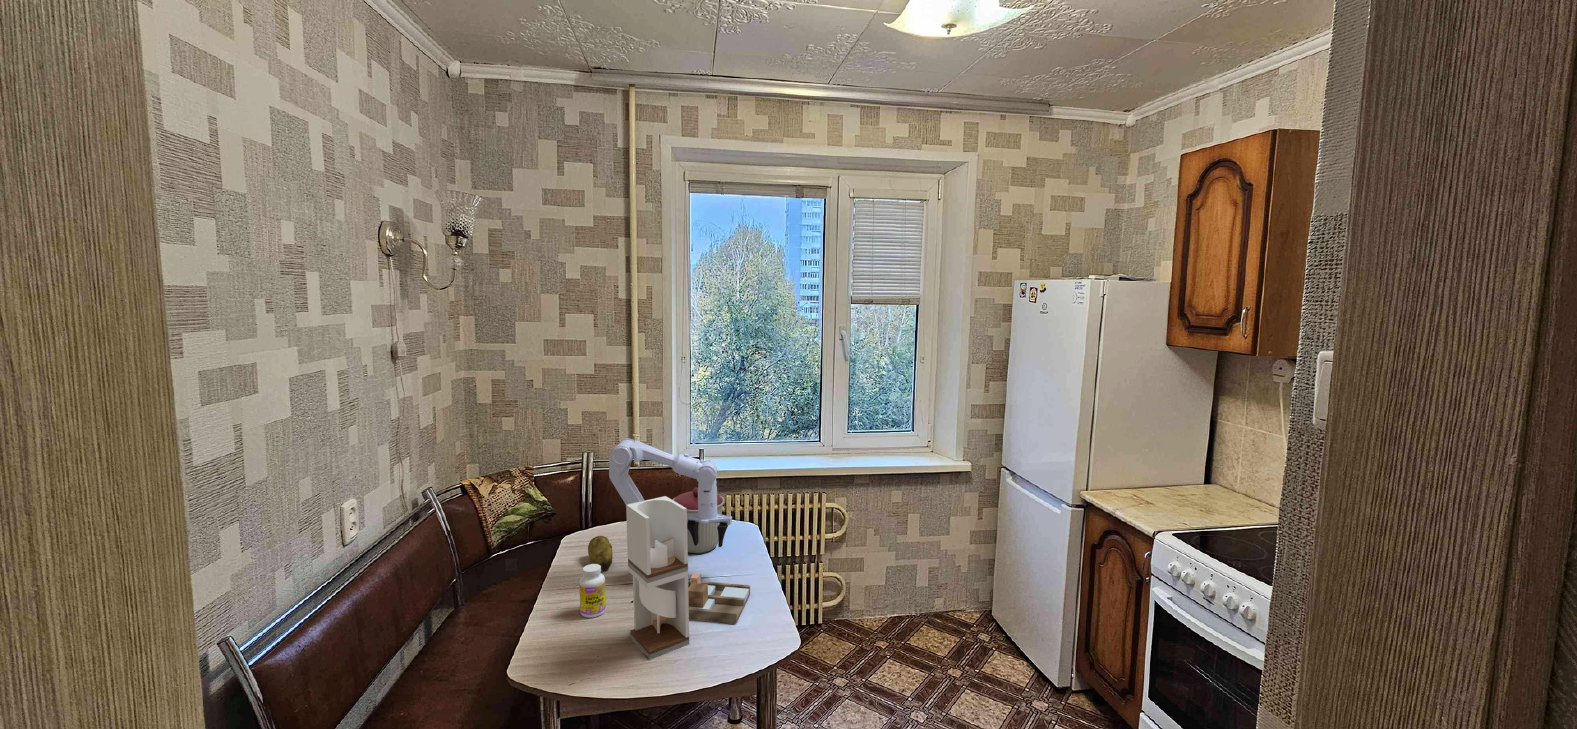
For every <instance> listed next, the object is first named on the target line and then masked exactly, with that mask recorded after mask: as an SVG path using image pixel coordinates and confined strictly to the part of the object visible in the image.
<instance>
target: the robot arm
mask: <svg viewBox="0 0 1577 729" xmlns="http://www.w3.org/2000/svg"><path fill="white" fill-rule="evenodd" d="M607 460H608V464H609V466H608V476H609V481H610V482H611V483H612V484H613V486H614V488H615V490H616V491H617V493H618V494H619V496H620V498H621V499H622V501H623V503H624V504H625V506H626V505H627V504H632V503H636V502H641V501H646V500H645V499H644V497H643V496H642V493H641V492H640V490H639V489H638V487H637V486H636V484H635V482H634V481H633V479H632V477H631V476H630V474H629V471H630V468H631V464H632V462H633V463H637V462H641V461H644V460H646V461H650V462H655V463H657V464H661V465H664V466H668V467H671V469H672V471H673V472H674V473H677V474H679V475H683V476H685V477H688V478H691V479H696V481H697V482H698V483H697V485H698V513H694V514H687V522H688V523H687V528H688V530H689V532H690V534H691V536H692V539H693V542H694V546H697V544H698V542H699V537H698V526H699V522H701V523H720V524H719V525H718V527H717V530H718V544H717V546H718V548H722V546H724V545H723V544H724V543H723V542H724V539H725V534H726V531H727V529H728V526H730V525H731V524H732V523H733V516H731V515H724V514H722V515H721V514H717V494H718V487H717V475H718V467H717V465H716V463H714V462H713V461H711V460H710V459H709V460H708V459H707V460H705V459H703V458H700V459H697V458H695V457H692V456H690V454H689V453H686V452H685V453H684V454H683V453H678V454H677V455H673V454H671V453H668V452H666V451H663V450H661V449H658V448H656V447H654V446H651V445H649V444H646V443H645V442H642V441H640V440H634V439H632V438H623V439H622V440H620V442H619V443H618V444H617V445H616V446H615V447H614V448H612V449H611V452H610V454H609V456H608V459H607Z"/></svg>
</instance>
